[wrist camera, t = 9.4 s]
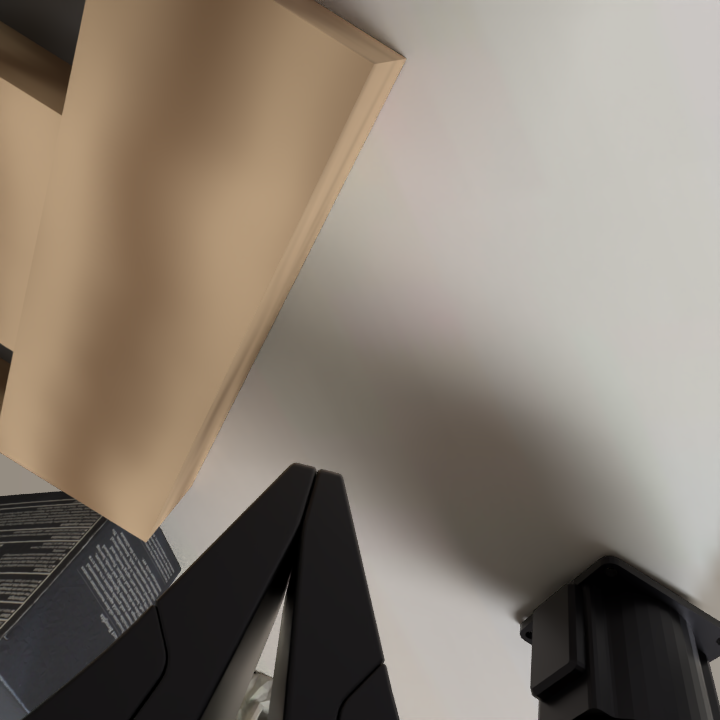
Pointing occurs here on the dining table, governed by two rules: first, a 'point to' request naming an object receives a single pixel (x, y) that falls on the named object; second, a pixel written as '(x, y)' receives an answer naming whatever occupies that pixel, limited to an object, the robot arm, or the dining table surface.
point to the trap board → (159, 221)
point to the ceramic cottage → (256, 699)
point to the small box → (67, 591)
